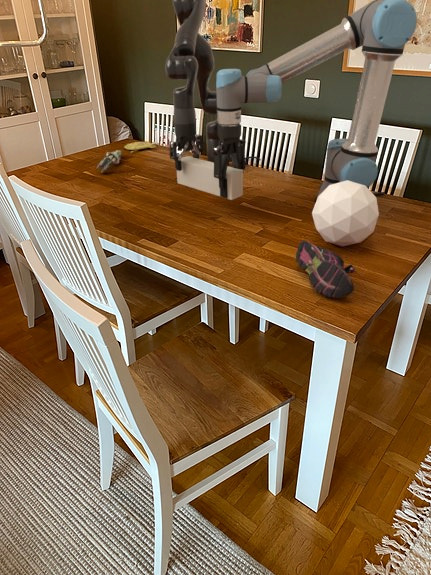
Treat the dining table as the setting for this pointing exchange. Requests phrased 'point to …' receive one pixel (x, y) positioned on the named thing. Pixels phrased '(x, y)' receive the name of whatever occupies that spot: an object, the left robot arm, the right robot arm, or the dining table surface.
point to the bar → (209, 177)
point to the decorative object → (139, 146)
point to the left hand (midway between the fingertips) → (187, 167)
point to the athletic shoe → (325, 270)
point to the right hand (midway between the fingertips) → (230, 194)
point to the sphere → (345, 213)
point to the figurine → (110, 160)
